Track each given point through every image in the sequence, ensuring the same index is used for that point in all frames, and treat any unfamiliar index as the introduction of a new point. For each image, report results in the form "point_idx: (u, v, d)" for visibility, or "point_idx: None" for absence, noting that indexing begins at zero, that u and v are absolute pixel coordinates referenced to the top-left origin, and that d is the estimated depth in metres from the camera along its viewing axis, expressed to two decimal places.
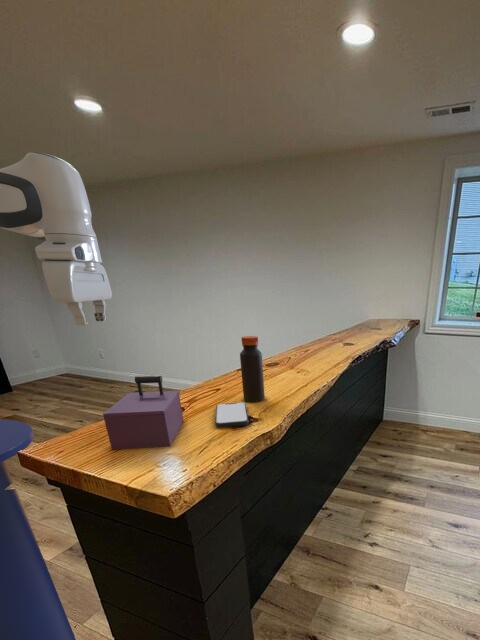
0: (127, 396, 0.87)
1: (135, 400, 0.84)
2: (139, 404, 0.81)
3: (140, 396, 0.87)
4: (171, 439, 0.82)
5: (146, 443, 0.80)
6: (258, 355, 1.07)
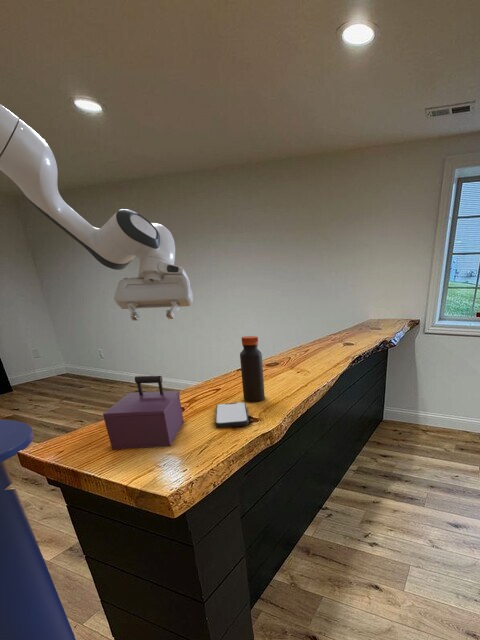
0: (127, 396, 0.87)
1: (135, 400, 0.84)
2: (139, 404, 0.81)
3: (140, 396, 0.87)
4: (171, 439, 0.82)
5: (146, 443, 0.80)
6: (258, 355, 1.07)
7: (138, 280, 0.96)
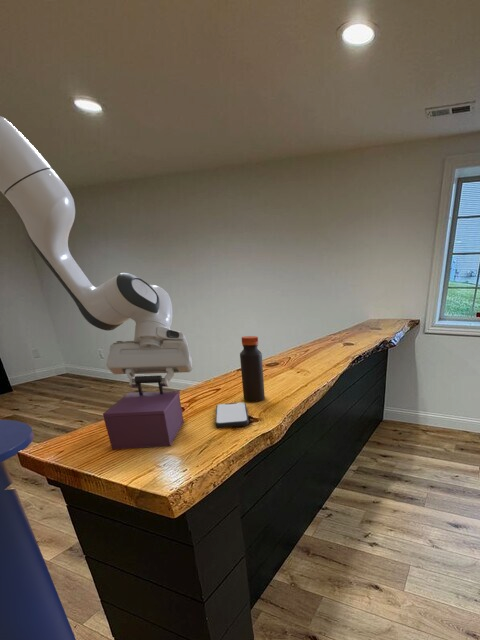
0: (127, 396, 0.87)
1: (135, 400, 0.84)
2: (139, 404, 0.81)
3: (140, 396, 0.87)
4: (171, 439, 0.82)
5: (146, 443, 0.80)
6: (258, 355, 1.07)
7: (134, 345, 0.89)
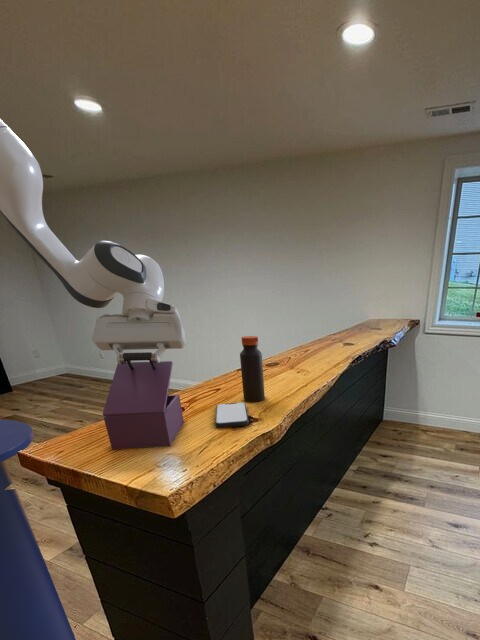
0: (118, 372, 0.83)
1: (129, 383, 0.81)
2: (135, 394, 0.79)
3: (132, 374, 0.83)
4: (171, 439, 0.82)
5: (146, 443, 0.80)
6: (258, 355, 1.07)
7: (122, 318, 0.83)
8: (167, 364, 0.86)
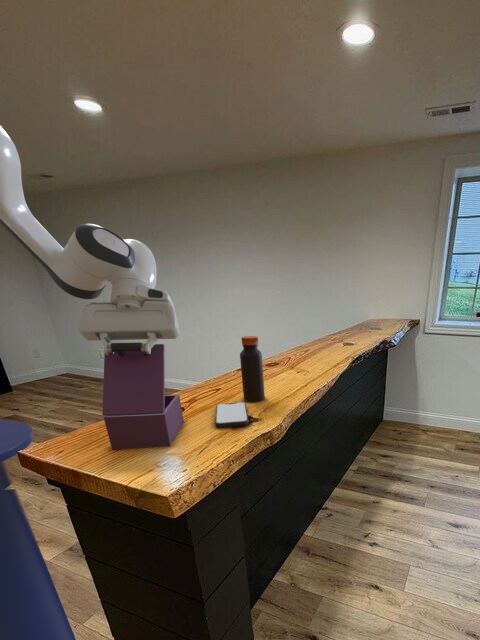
0: (108, 359, 0.78)
1: (122, 375, 0.78)
2: (131, 389, 0.77)
3: (123, 362, 0.78)
4: (171, 439, 0.82)
5: (146, 443, 0.80)
6: (258, 355, 1.07)
7: (110, 306, 0.77)
8: (159, 348, 0.80)
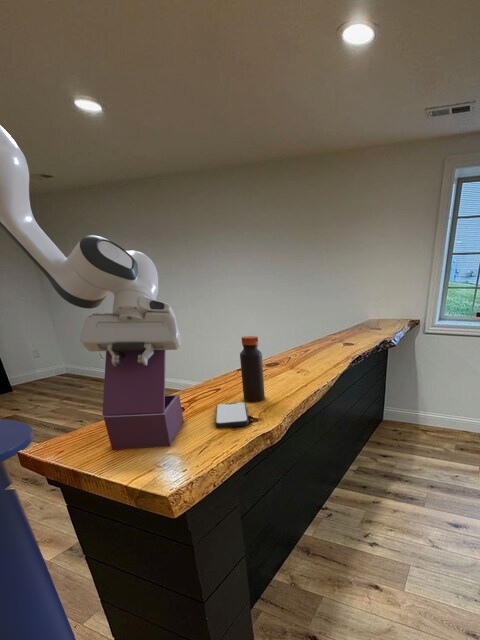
0: (109, 360, 0.78)
1: (123, 375, 0.78)
2: (131, 389, 0.77)
3: (124, 363, 0.79)
4: (171, 439, 0.82)
5: (146, 443, 0.80)
6: (258, 355, 1.07)
7: (112, 317, 0.78)
8: (160, 350, 0.81)
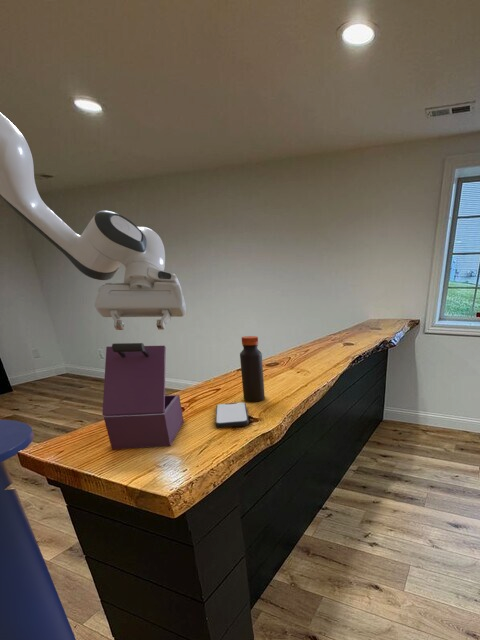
0: (109, 360, 0.78)
1: (123, 375, 0.78)
2: (131, 389, 0.77)
3: (124, 363, 0.79)
4: (171, 439, 0.82)
5: (146, 443, 0.80)
6: (258, 355, 1.07)
7: (123, 286, 0.85)
8: (160, 350, 0.81)
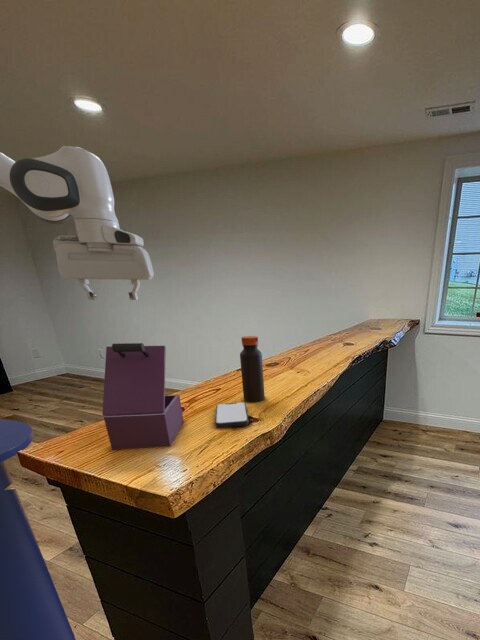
0: (109, 360, 0.78)
1: (123, 375, 0.78)
2: (131, 389, 0.77)
3: (124, 363, 0.79)
4: (171, 439, 0.82)
5: (146, 443, 0.80)
6: (258, 355, 1.07)
7: (81, 247, 0.80)
8: (160, 350, 0.81)
